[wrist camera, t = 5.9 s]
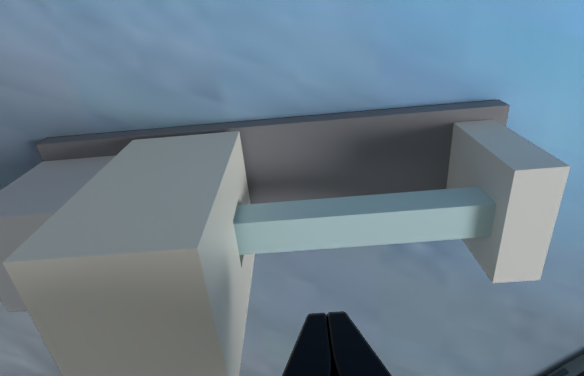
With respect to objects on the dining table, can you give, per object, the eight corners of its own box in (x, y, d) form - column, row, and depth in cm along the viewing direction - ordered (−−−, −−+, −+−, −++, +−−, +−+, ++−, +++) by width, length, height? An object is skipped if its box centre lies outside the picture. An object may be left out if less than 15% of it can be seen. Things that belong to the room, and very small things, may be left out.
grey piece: (481, 210, 17) (554, 292, 12) (87, 240, 18) (14, 329, 13) (499, 99, 15) (597, 148, 10) (47, 137, 15) (-59, 201, 11)
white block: (256, 242, 16) (235, 406, 10) (164, 249, 17) (83, 415, 10) (239, 130, 14) (197, 248, 8) (132, 139, 14) (1, 262, 8)
